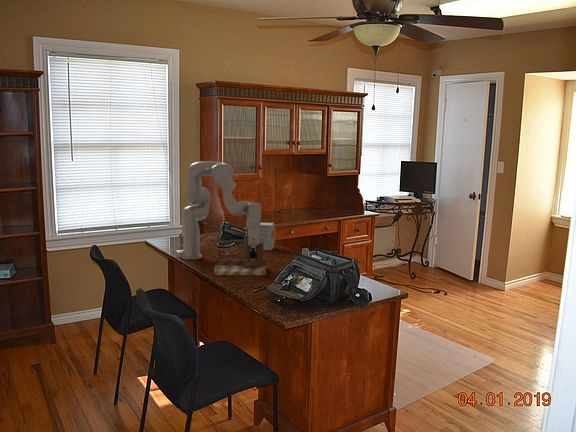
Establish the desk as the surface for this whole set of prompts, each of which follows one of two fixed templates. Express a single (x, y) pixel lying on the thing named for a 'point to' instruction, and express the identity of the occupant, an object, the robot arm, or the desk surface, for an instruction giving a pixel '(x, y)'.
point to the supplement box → (266, 235)
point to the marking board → (236, 268)
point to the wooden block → (259, 254)
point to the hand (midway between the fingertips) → (252, 256)
